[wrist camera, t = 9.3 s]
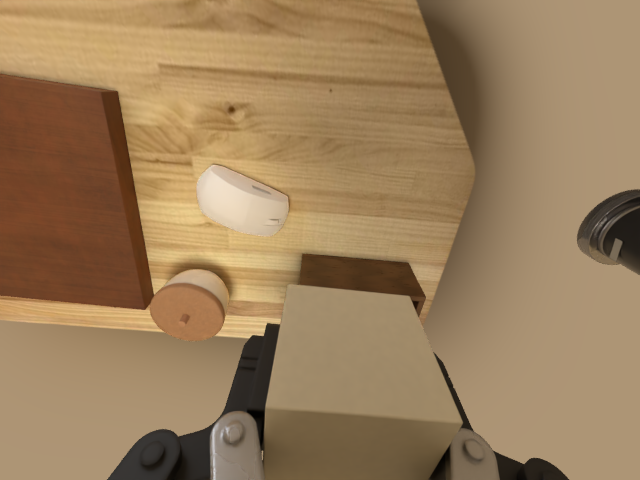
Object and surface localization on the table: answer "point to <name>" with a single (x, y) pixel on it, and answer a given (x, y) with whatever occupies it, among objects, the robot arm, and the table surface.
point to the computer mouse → (241, 202)
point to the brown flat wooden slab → (68, 197)
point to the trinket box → (191, 305)
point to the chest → (362, 276)
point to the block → (354, 390)
